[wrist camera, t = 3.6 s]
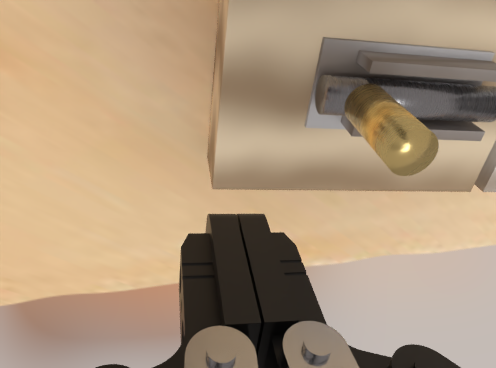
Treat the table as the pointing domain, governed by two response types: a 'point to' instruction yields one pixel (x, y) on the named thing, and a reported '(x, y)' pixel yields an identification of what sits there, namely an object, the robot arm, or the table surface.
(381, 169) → the grey stone slabs
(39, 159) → the table surface
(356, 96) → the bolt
